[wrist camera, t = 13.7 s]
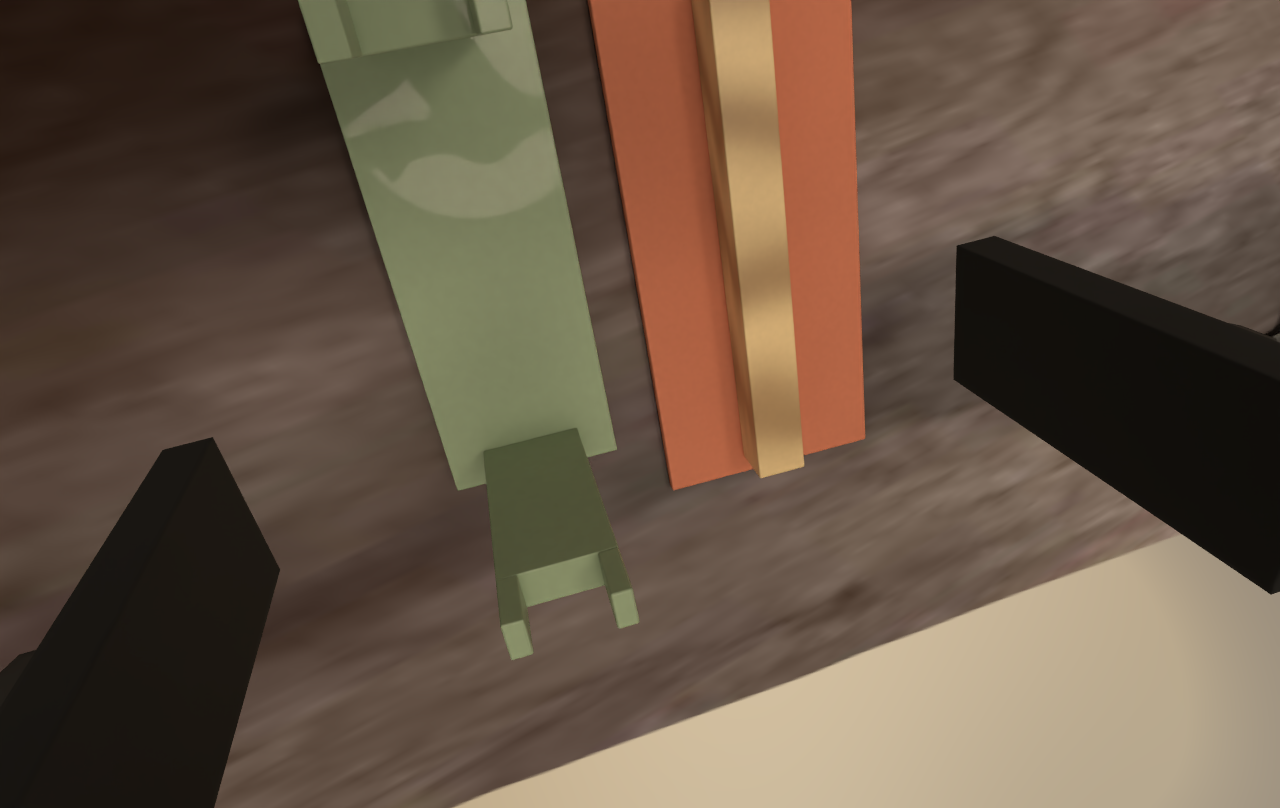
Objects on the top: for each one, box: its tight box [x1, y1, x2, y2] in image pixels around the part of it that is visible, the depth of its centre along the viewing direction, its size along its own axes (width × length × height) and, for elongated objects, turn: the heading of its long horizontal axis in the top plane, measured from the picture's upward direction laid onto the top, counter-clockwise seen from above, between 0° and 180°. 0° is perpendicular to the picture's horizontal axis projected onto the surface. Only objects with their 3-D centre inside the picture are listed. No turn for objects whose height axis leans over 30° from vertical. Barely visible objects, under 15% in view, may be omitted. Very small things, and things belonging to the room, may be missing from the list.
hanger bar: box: [691, 0, 804, 478], centre depth 35 cm, size 22×2×2 cm, turn 9°
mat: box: [587, 0, 865, 490], centre depth 36 cm, size 24×11×1 cm, turn 9°
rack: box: [298, 0, 639, 660], centre depth 28 cm, size 21×8×14 cm, turn 9°
